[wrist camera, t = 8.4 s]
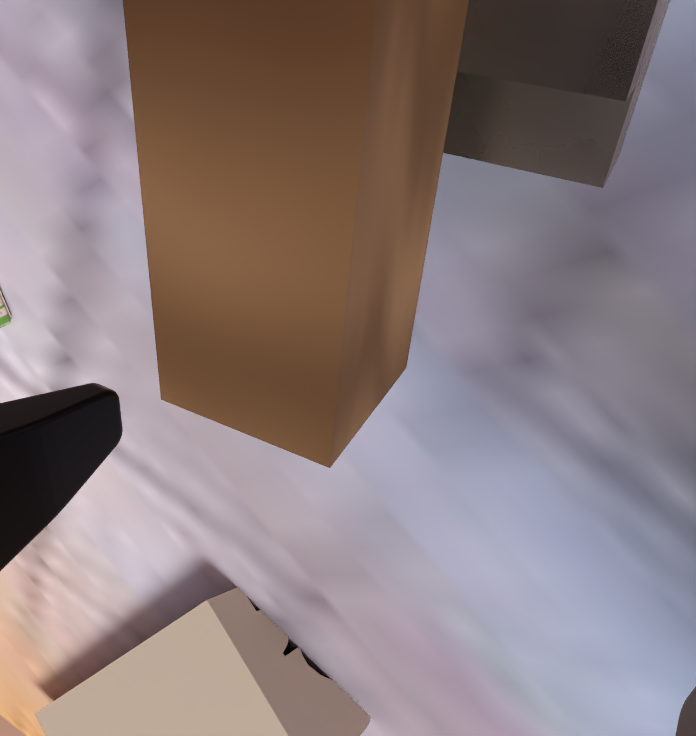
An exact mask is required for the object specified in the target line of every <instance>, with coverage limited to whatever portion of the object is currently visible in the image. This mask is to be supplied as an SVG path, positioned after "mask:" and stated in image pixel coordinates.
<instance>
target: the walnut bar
mask: <svg viewBox="0 0 696 736" xmlns="http://www.w3.org/2000/svg"><path fill="white" fill-rule="evenodd" d="M468 3H469V0H123V6H124V17H125V27H126V37H127V48H128V58H129V69H130V79H131V90H132V100H133V111H134V121H135V132H136V142H137V152H138V163H139V173H140V184H141V194H142V205H143V215H144V226H145V236H146V247H147V257H148V268H149V278H150V288H151V299H152V309H153V320H154V330H155V341H156V351H157V362H158V372H159V383H160V393H161V400H164V401H166V402H169V403H171V404H174V405H176V406H179V407H181V408H184V409H186V410H189V411H191V412H193V413H196V414H198V415H201V416H203V417H206V418H208V419H211V420H213V421H216V422H218V423H221V424H223V425H225V426H228V427H230V428H233V429H235V430H238V431H240V432H243V433H245V434H248V435H250V436H252V437H255V438H257V439H260V440H262V441H265V442H267V443H270V444H272V445H275V446H277V447H280V448H282V449H284V450H287V451H289V452H292V453H294V454H297V455H299V456H302V457H304V458H307V459H309V460H311V461H314V462H316V463H319V464H321V465H324V466H326V467H329V468H330V467H331V466H332V465H333V463H334V462H335V461H336V459H337V458H338V457H339V455H340V454H341V453H342V451H343V450H344V449H345V448H346V446H347V445H348V444H349V442H350V441H351V440H352V438H353V437H354V436H355V434H356V433H357V432H358V430H359V429H360V428H361V427H362V425H363V424H364V423H365V421H366V420H367V419H368V417H369V416H370V415H371V413H372V412H373V411H374V409H375V408H376V407H377V405H378V404H379V403H380V402H381V400H382V399H383V398H384V396H385V395H386V394H387V392H388V391H389V390H390V388H391V387H392V386H393V384H394V383H395V382H396V381H397V379H398V378H399V377H400V375H401V374H402V373H403V371H404V370H405V369H406V365H407V360H408V354H409V348H410V342H411V336H412V330H413V325H414V319H415V313H416V307H417V301H418V295H419V289H420V284H421V278H422V272H423V266H424V260H425V254H426V249H427V243H428V237H429V231H430V225H431V219H432V213H433V208H434V202H435V196H436V190H437V184H438V178H439V173H440V167H441V161H442V155H443V149H444V143H445V137H446V132H447V126H448V120H449V114H450V108H451V102H452V97H453V91H454V85H455V79H456V73H457V67H458V61H459V56H460V50H461V44H462V38H463V32H464V26H465V21H466V15H467V9H468Z"/></svg>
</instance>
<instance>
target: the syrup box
mask: <svg viewBox="0 0 696 736" xmlns="http://www.w3.org/2000/svg"><path fill="white" fill-rule="evenodd" d="M11 319H12V318H11V315H10V312H9V310H8V307H7V305H6V302H5V300H4V298H3V296H2V293H1V291H0V328H2V327H4V326H6V325H8V324H10V322H11Z"/></svg>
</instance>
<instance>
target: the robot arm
mask: <svg viewBox="0 0 696 736" xmlns="http://www.w3.org/2000/svg"><path fill="white" fill-rule="evenodd" d="M121 436H122V420H121V411H120V402H119V397H118V395H117V393H116V392H115V391H113V390H111V389H109V388H107V387H104V386H102V385H100V384H96V383H90V384H85V385H81V386H76V387H72V388H67V389H63V390H58V391H54V392H49V393H45V394H40V395H36V396H31V397H26V398H22V399H17V400H13V401H8V402H4V403H0V571H1V570H2V569H3V568H4V567H5V566H6V565H7V564H8V563H9V562H10V561H11V560H12V559H13V558H14V557H15V556H16V555H17V554H18V553H19V552H20V551H21V550H22V549H23V548H24V547H25V546H26V545H28V544H29V543H30V542H31V541H32V540H33V539H34V538H35V537H36V536H37V535H38V534H39V533H40V532H41V531H42V530H43V529H44V528H45V527H46V526H47V525H48V524H49V523H50V522H51V521H52V520H53V519H54V518H55V517H56V516H57V515H58V514H59V513H60V511H61V510H62V509H63V508H64V507H65V506H66V505H67V504H68V502H69V501H70V500H71V499H72V498H73V496H74V495H75V494H76V493H77V492H78V491H79V489H80V488H81V487H82V486H83V485H84V483H85V482H86V481H87V480H88V479H89V478H90V476H91V475H92V474H93V473H94V472H95V470H96V469H97V468H98V467H99V466H100V465H101V463H102V462H103V461H104V460H105V459H106V457H107V456H108V455H109V454H110V453H111V452H112V450H113V449H114V448H115V447H116V446H117V444H118V443H119V441H120V439H121ZM676 736H696V687H695V688H694V689H693V691H692V692H691V693H690V695H689V696H688V697H687V699H686V700H685V702H684V704H683V707H682V709H681V712H680V716H679V720H678V726H677V731H676Z"/></svg>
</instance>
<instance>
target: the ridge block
mask: <svg viewBox="0 0 696 736" xmlns="http://www.w3.org/2000/svg"><path fill="white" fill-rule="evenodd" d="M668 3H669V0H469V3H468V9H467V15H466V21H465V26H464V32H463V38H462V44H461V50H460V56H459V61H458V67H457V73H456V79H455V85H454V91H453V97H452V102H451V108H450V114H449V120H448V126H447V132H446V137H445V143H444V149H443V153H447V154H452V155H456V156H461V157H466V158H470V159H475V160H479V161H484V162H488V163H493V164H497V165H502V166H506V167H511V168H515V169H520V170H524V171H529V172H534V173H538V174H543V175H547V176H552V177H556V178H561V179H565V180H570V181H574V182H579V183H583V184H588V185H592V186H597V187H602V188H603V187H604V185H605V183H606V181H607V179H608V177H609V174H610V172H611V170H612V168H613V166H614V164H615V162H616V160H617V158H618V156H619V153H620V150H621V147H622V144H623V141H624V138H625V135H626V132H627V129H628V125H629V122H630V119H631V116H632V113H633V110H634V107H635V104H636V101H637V98H638V95H639V92H640V89H641V86H642V83H643V80H644V77H645V74H646V71H647V67H648V64H649V61H650V58H651V55H652V52H653V49H654V46H655V43H656V40H657V37H658V34H659V31H660V28H661V25H662V22H663V19H664V16H665V13H666V9H667V6H668Z"/></svg>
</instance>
